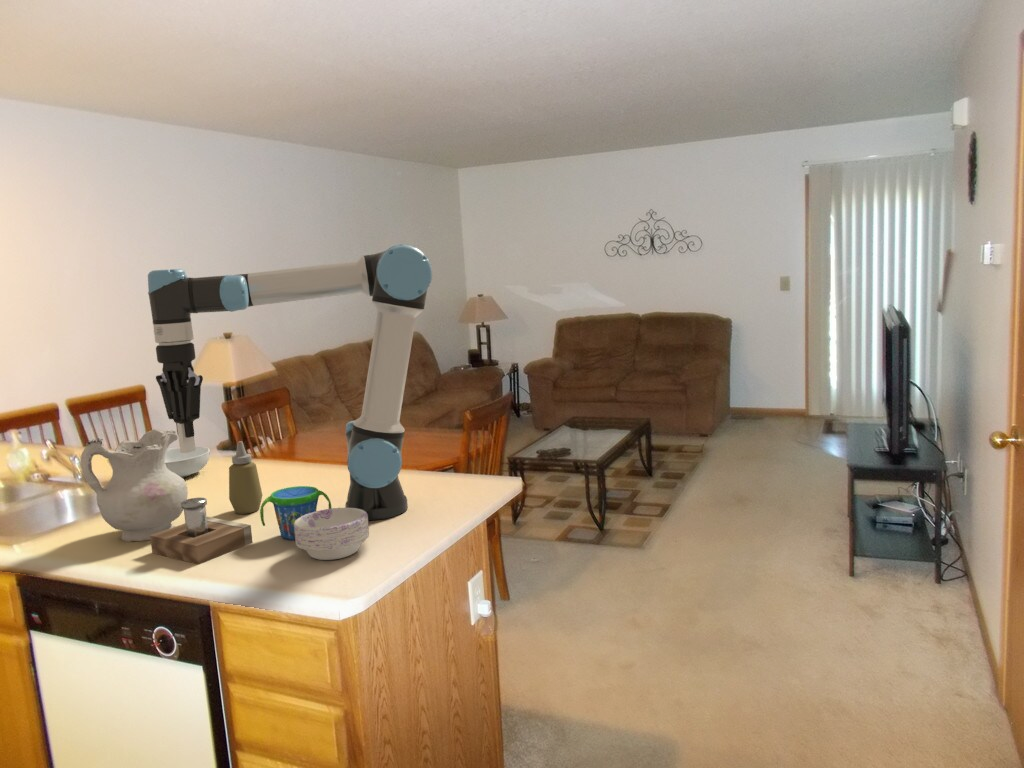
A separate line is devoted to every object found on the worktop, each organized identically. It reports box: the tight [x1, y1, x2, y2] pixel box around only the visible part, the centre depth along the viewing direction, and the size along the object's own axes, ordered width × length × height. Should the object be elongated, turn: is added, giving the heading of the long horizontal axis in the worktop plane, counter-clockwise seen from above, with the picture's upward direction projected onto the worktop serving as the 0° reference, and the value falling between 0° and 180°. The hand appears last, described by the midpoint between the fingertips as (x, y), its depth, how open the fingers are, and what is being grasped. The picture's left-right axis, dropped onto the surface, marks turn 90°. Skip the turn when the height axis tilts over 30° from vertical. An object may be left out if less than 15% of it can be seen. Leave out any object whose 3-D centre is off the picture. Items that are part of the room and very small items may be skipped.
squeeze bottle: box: [228, 440, 263, 515], centre depth 200 cm, size 8×8×18 cm
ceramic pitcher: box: [80, 428, 189, 543], centre depth 185 cm, size 22×20×25 cm
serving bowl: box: [165, 445, 211, 479], centre depth 242 cm, size 21×21×7 cm
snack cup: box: [259, 485, 333, 541], centre depth 179 cm, size 16×10×10 cm
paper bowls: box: [294, 507, 370, 561], centre depth 167 cm, size 15×15×8 cm
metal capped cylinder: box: [181, 497, 208, 538], centre depth 173 cm, size 5×5×11 cm
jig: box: [149, 516, 253, 565], centre depth 175 cm, size 16×14×4 cm
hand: (188, 451), depth 171 cm, fingers closed
